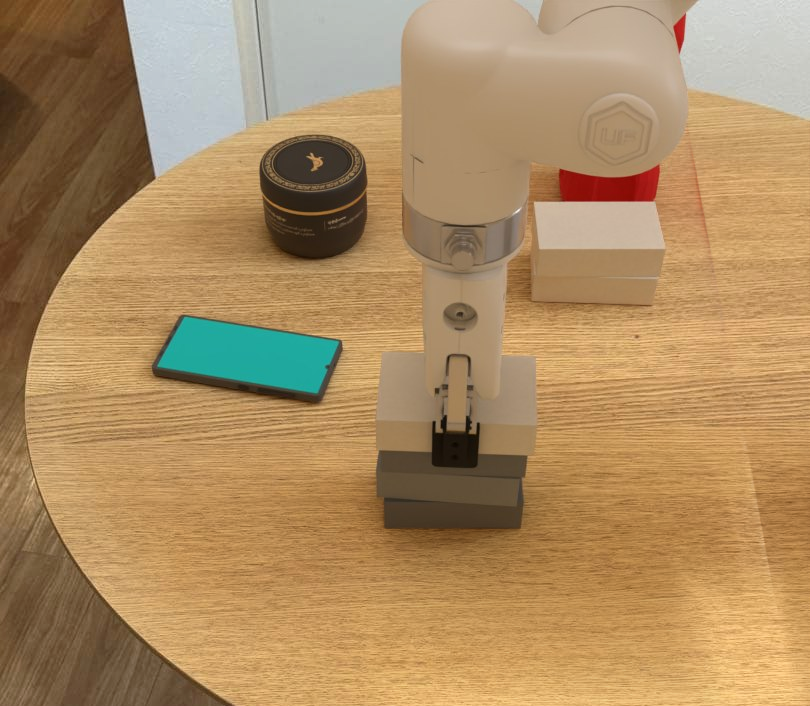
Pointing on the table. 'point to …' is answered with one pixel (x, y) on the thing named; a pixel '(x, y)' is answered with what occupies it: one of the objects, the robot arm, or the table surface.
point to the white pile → (596, 252)
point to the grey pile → (450, 491)
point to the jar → (314, 195)
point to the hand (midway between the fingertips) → (456, 423)
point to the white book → (416, 409)
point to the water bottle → (615, 188)
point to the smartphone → (248, 358)
